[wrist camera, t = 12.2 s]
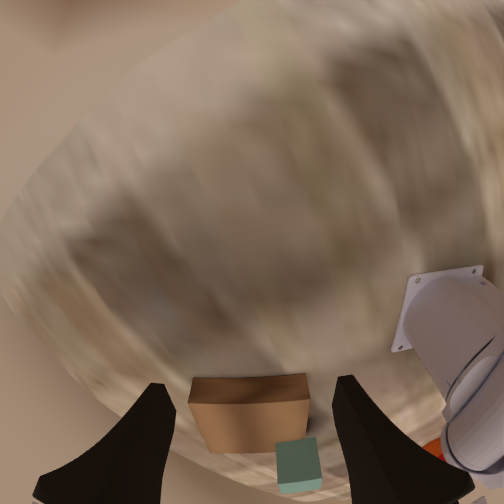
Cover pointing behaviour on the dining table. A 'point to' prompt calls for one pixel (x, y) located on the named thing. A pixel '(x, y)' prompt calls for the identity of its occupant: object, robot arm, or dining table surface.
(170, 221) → the dining table surface
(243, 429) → the walnut plinth
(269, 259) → the dining table surface
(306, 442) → the teal block
